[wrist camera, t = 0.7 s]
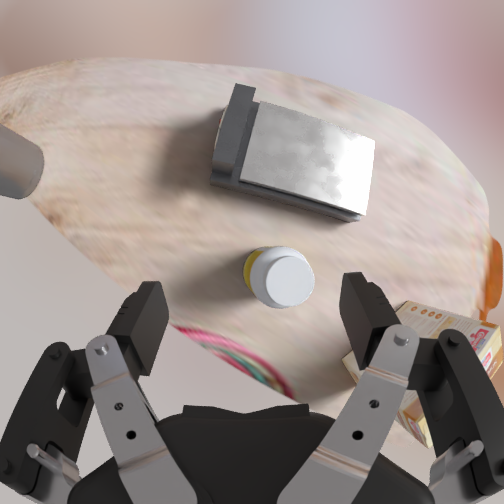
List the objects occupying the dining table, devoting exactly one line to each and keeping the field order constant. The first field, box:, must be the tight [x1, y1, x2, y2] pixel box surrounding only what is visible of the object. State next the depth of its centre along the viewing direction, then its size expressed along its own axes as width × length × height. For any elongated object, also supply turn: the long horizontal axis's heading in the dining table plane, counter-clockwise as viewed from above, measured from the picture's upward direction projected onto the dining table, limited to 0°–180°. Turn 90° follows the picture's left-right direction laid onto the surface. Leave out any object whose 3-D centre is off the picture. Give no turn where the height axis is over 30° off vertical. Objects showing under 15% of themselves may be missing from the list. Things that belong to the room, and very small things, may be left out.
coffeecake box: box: [342, 301, 503, 449], centre depth 30 cm, size 15×7×20 cm, turn 124°
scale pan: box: [239, 101, 375, 216], centre depth 33 cm, size 16×11×1 cm, turn 77°
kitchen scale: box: [210, 83, 361, 222], centre depth 33 cm, size 21×12×8 cm, turn 77°
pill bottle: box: [243, 246, 314, 308], centre depth 31 cm, size 6×6×12 cm
